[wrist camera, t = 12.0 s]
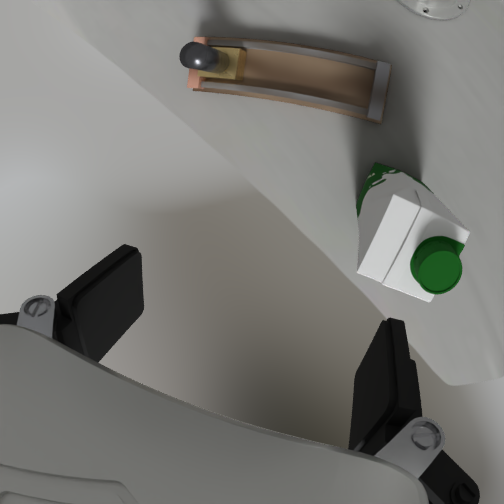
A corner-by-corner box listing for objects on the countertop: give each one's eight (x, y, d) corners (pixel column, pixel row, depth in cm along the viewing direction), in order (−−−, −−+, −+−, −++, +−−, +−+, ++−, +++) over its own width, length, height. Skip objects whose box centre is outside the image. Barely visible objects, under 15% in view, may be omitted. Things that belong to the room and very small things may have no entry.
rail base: (205, 38, 36) (192, 33, 33) (390, 66, 32) (395, 62, 29) (197, 91, 40) (184, 90, 37) (379, 123, 36) (383, 125, 32)
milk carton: (404, 236, 41) (435, 323, 24) (346, 211, 42) (345, 288, 25) (430, 180, 37) (488, 237, 19) (370, 152, 38) (392, 189, 20)
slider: (210, 50, 35) (174, 37, 27) (247, 52, 35) (218, 37, 26) (206, 77, 37) (169, 72, 29) (242, 80, 36) (212, 74, 28)
